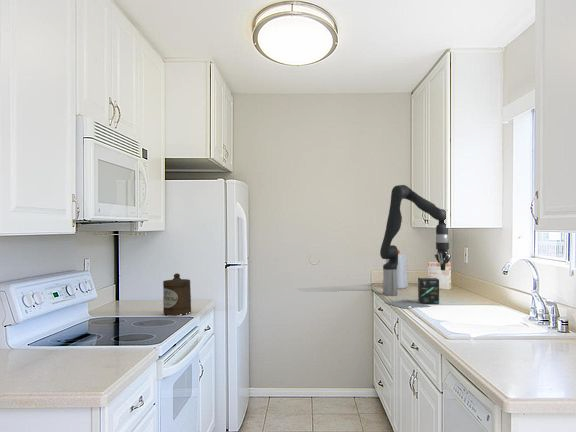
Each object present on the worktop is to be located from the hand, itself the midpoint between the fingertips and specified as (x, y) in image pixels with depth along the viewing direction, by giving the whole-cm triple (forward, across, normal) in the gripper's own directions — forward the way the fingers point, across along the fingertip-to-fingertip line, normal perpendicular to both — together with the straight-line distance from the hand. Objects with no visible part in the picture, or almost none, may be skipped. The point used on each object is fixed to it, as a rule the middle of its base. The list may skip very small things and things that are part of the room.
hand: (443, 270), depth 282 cm
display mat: (+19, 0, -26) cm, 32 cm away
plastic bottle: (+19, -66, +8) cm, 69 cm away
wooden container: (+19, -25, -156) cm, 159 cm away
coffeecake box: (+19, -49, +34) cm, 63 cm away
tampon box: (+19, 0, -11) cm, 22 cm away
